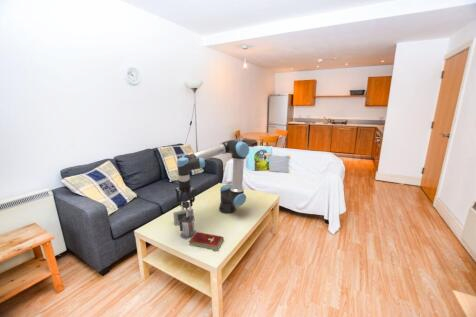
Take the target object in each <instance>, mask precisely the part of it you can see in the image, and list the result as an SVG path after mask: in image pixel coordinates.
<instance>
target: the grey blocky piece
mask: <svg viewBox="0 0 476 317" xmlns="http://www.w3.org/2000/svg"><path fill="white" fill-rule="evenodd" d="M193 218H194V219H195V215H194V216H188V219H187V217H186V216H184V217H183V218H182V220H180V221H179V223H180V225H179V231H180V232H183V236H184V237H192V236H193V235H194V230H195V221H193Z"/></svg>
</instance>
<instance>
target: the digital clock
mask: <svg viewBox="0 0 476 317" xmlns="http://www.w3.org/2000/svg"><path fill="white" fill-rule="evenodd" d="M172 214H173V221H174V226H180V223H179V221H180V220H182V218H183V217H184V216H186V209H184V210H183V211H182V209H181V210H177V211H174V212H173V213H172ZM188 216H194V218H193V221H194V222H195V214H194V209H193V208H192V210H191V211H190V209H189V208H188Z"/></svg>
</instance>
